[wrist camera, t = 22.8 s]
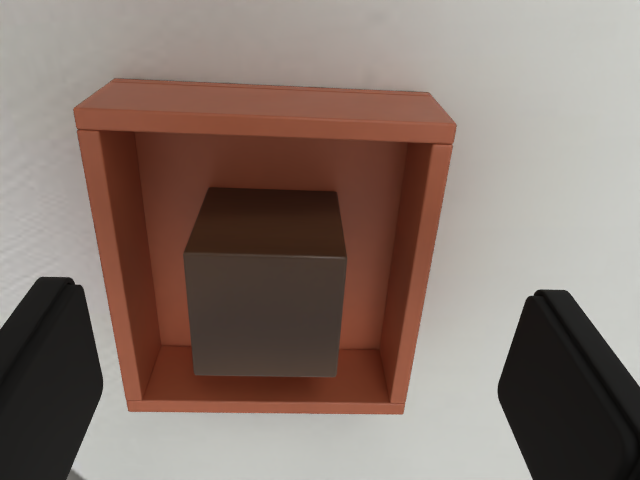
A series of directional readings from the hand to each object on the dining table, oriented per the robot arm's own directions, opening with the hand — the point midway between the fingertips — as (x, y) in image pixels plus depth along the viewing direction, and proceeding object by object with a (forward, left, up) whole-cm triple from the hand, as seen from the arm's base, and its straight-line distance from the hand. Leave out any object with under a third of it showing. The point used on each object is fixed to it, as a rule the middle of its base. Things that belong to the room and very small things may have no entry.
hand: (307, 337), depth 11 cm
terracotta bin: (+2, -1, -8) cm, 9 cm away
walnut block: (+2, -1, -8) cm, 8 cm away
